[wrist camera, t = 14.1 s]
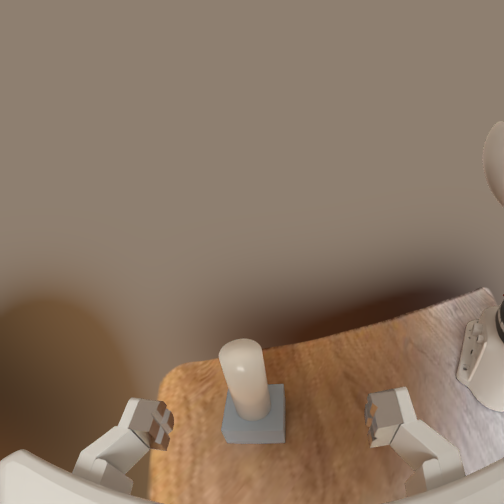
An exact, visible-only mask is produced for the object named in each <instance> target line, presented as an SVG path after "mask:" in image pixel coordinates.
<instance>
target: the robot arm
mask: <svg viewBox="0 0 504 504" xmlns="http://www.w3.org/2000/svg"><path fill="white" fill-rule="evenodd" d="M483 168H484V174H485V177H486V180H487V183H488V186H489V188H490V190H491V192H492V194H493V195H494V197H495V198H496V199H497V201H498V202H499V203H500V204H501V205H502V207H503V208H504V121H499V122H497V123H496V124H495V125H494V126H493V128H492V129H491V130H490V132H489V133H488V136H487V138H486V140H485V144H484V149H483ZM503 296H504V294H503ZM463 369H464V370H463ZM456 377H457V379H458V380H459V381H460V382H461V383H462V384H464V385H465V386H467V387H468V388H469V389H470V390H471V392H472V393H473V395H474V396H475V397H476V399H477V400H478V401H479V402H480V403H482V404H483V405H484V406H486V407H487V408H489V409H492V410H495V411H499V412H504V301H503V302H502V304H501V305H500V306H493V307H489V308H487V309H485V310H484V311H483V312H482V314H481V317H480V319H476V320H473V321H470V322H468V323H467V325H466V329H465V335H464V341H463V346H462V351H461V356H460V361H459V365H458V370H457V374H456ZM367 400H368V403H367V404H366V405H365V414H364V415H365V423H366V426H367V427H369V431H368V434H367V435H368V441H369V447H370V448H373V447H379V446H384V445H389V444H390V446H391V447H392V448H393V449H394V450H395V451H396V452H397V454H398V455H399V456H400V457H401V458H402V459H403V460H404V461H405V462H406V463H407V464H408V465H409V466H410V467H411V468H412V469H413V470H414V471H415V472H414V473H413V475H412V476H411V477H410V478H409V479H408V480H407V481H406V482H405V489H406V496H407V497H406V498H402V499H399V500H395V501H391V502H387V503H382V504H504V457H503V458H502V459H500V460H498V461H496V462H494V463H492V464H490V465H488V466H486V467H484V468H482V469H480V470H478V471H476V472H474V473H472V474H470V475H467V476H466V475H465V471H464V468H463V464H462V460H461V457H460V453H459V450H458V448H456V447H455V446H454V445H452V444H451V443H450V442H449V441H447V440H446V439H445V438H444V437H442V436H441V435H440V434H438V433H437V432H436V431H435V430H433V429H432V428H431V427H430V426H428V425H427V424H426V423H425V422H423V421H422V420H421V419H420V420H417V418H416V414H415V411H414V408H413V405H412V401H411V398H410V395H409V392H408V389H407V388H406V387H405V386H404V387H399V388H395V389H389V390H385V391H380V392H375V393H370V394H368V397H367ZM166 406H167V405H166V404H165V403H164V401H155V400H145V399H139V398H131V399H130V400H129V401H128V404H127V406H126V408H125V410H124V413H123V415H122V418H121V420H120V422H119V425H118V427H117V426H115V427H113V428H112V429H111V430H109V431H108V432H107V433H105V435H103V436H102V437H100V438H99V439H98V440H96V441H95V442H94V443H92V444H91V445H90V446H88V447H87V448H85V449H84V450H83V451H81V454H80V456H79V458H78V460H77V463H76V465H75V468H74V470H73V472H72V473H70V472H67V471H65V470H63V469H61V468H59V467H57V466H55V465H53V464H51V463H49V462H47V461H45V460H43V459H41V458H39V457H37V456H35V455H34V454H32V453H30V452H28V451H26V450H23V449H21V450H18V451H16V452H14V453H13V454H11V455H9V456H7V457H5V458H4V459H3V460H1V461H0V504H163V503H159V502H154V501H150V500H147V499H143V498H139V497H135V496H132V495H130V492H131V489H132V486H133V481H132V480H131V479H130V478H128V477H127V476H125V473H126V472H128V471H129V470H130V469H131V468H132V466H134V464H136V463H137V462H138V461H139V460H140V459H141V458H142V457H143V456H144V455H145V454H146V453H147V452H148V451H149V450H150V449H156V450H163V451H167V447H168V444H169V440H170V438H169V435H168V434H169V433H170V432H171V431H172V430H173V426H174V417H173V414H172V413H171V411H170V410H168V409H166ZM149 448H150V449H149Z"/></svg>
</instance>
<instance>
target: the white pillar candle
mask: <svg viewBox="0 0 504 504" xmlns="http://www.w3.org/2000/svg"><path fill="white" fill-rule="evenodd" d="M219 360H220V363H221V366H222V370H223V373H224V376H225V379H226V382H227V385H228V388H229V391H230V394H231V397H232V400H233V403H234V406H235V409H236V412H237V414H238V415H239V417H241V418H242V419H244V420H247V421H258V420H261V419H263V418H265V417H266V416H267V415H268V414H269V412H270V410H271V401H270V395H269V389H268V383H267V377H266V372H265V366H264V360H263V354H262V349H261V347H260V345H259V344H258V343H257V342H255V341H253V340H250V339H237V340H233V341H231V342H229V343H227V344H226V345H224V346H223V347H222V349H221V350H220V352H219Z"/></svg>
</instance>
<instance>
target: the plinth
mask: <svg viewBox="0 0 504 504" xmlns="http://www.w3.org/2000/svg"><path fill="white" fill-rule="evenodd" d="M268 389H269V395H270V401H271V410H270V412H269V414H268V415H267V416H266V417H265V418H263V419H261V420H258V421H247V420H244V419H242V418H241V417H239V415H238V414H237V412H236V409H235V406H234V403H233V400H232V397H231V394H230V391H229V388H228V393H227V399H226V405H225V411H224V417H223V422H222V428H221V431H222V433H223V435H224V437H225V439H226V441H227V443H241V444H267V443H285V392H284V384H270V385H268Z"/></svg>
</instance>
